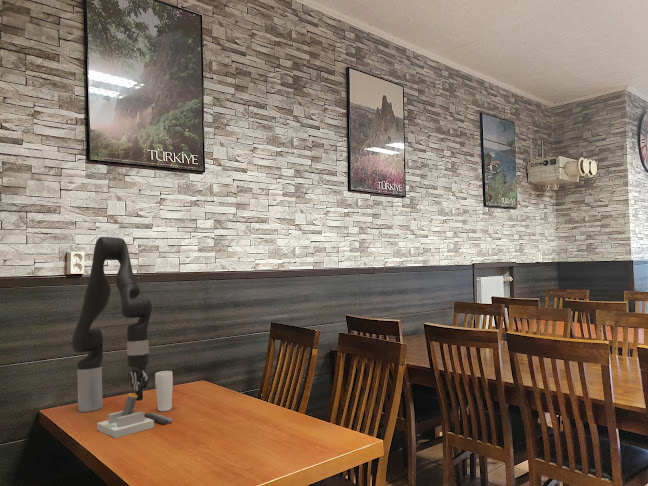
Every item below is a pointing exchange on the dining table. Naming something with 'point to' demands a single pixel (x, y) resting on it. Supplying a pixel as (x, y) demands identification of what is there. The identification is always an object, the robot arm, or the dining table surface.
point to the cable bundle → (158, 418)
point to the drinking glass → (164, 390)
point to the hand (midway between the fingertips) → (139, 400)
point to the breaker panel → (125, 429)
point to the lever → (129, 404)
